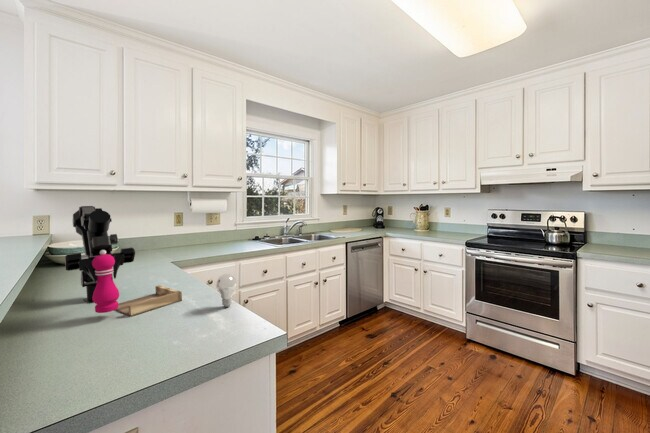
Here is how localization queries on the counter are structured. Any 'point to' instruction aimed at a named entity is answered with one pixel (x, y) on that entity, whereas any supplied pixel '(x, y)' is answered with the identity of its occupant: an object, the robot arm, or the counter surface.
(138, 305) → the brown flat rimmed piece
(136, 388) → the counter surface
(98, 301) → the pepper mill
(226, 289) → the light bulb
